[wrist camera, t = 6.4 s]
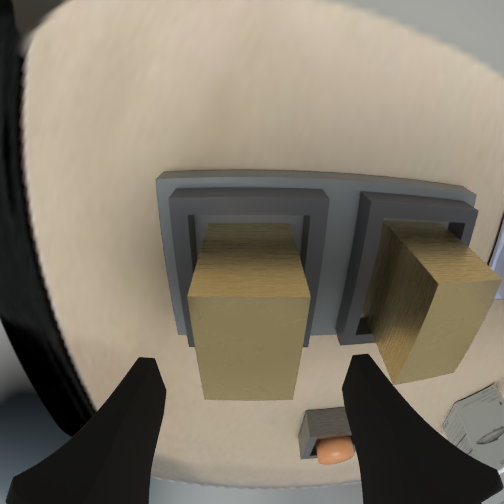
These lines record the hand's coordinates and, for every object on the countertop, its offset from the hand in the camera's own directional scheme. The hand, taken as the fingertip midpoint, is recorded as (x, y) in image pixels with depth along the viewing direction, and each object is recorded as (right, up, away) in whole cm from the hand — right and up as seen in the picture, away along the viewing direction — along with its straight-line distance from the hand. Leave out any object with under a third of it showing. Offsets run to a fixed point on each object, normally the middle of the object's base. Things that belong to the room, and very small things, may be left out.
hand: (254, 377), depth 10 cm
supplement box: (+30, -17, +19) cm, 39 cm away
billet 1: (0, +3, +6) cm, 7 cm away
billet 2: (+9, +4, +6) cm, 11 cm away
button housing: (+8, -13, +17) cm, 23 cm away
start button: (+8, -14, +15) cm, 22 cm away
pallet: (+4, +4, +7) cm, 9 cm away
